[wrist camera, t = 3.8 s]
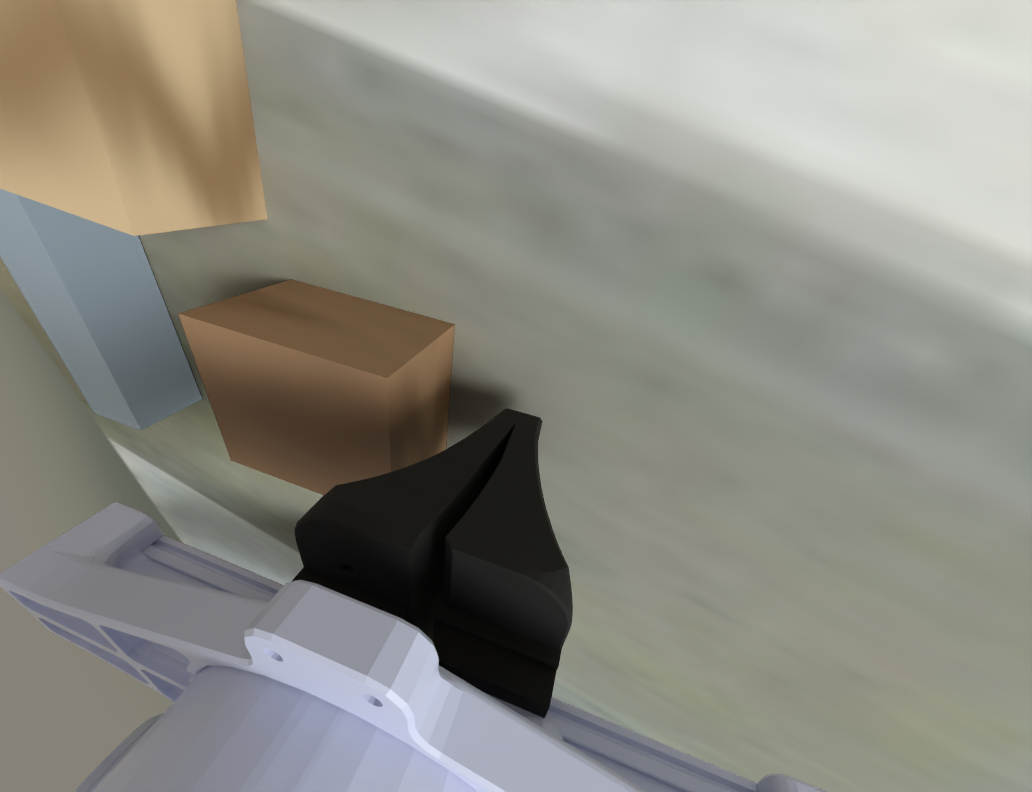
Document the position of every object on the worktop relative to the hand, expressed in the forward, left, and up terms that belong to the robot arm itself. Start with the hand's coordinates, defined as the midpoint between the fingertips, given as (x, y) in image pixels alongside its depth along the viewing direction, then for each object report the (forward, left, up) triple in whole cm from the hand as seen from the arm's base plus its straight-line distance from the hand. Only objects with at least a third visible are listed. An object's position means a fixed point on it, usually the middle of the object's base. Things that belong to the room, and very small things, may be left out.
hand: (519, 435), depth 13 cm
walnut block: (0, +7, -2) cm, 7 cm away
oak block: (+9, +14, -2) cm, 17 cm away
